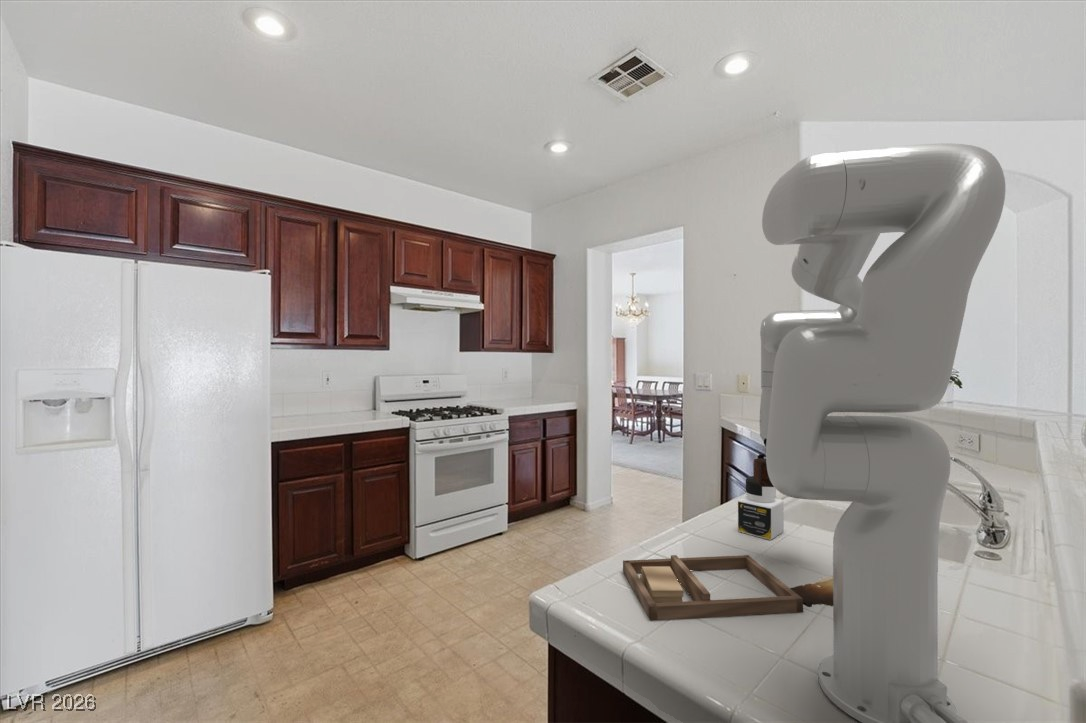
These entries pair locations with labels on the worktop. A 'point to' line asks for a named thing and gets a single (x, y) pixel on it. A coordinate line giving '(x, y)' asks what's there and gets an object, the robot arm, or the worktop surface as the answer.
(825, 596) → the parchment
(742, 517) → the medicine bottle
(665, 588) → the offcut stack
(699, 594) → the rack
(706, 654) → the worktop surface
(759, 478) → the brick
